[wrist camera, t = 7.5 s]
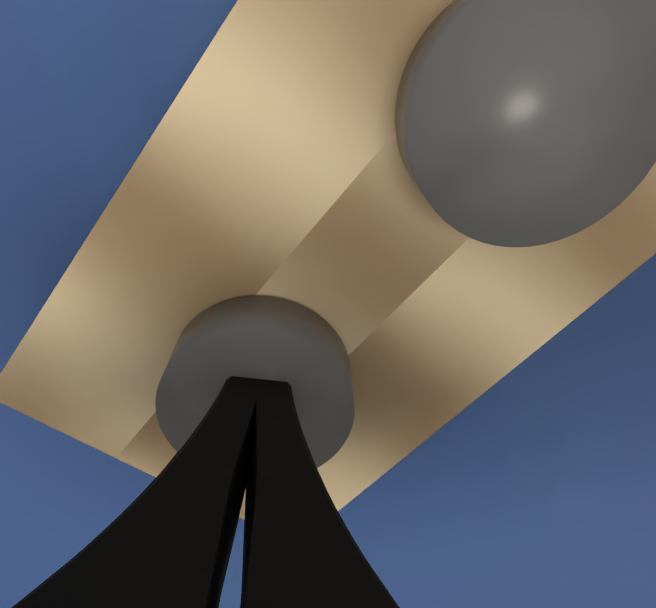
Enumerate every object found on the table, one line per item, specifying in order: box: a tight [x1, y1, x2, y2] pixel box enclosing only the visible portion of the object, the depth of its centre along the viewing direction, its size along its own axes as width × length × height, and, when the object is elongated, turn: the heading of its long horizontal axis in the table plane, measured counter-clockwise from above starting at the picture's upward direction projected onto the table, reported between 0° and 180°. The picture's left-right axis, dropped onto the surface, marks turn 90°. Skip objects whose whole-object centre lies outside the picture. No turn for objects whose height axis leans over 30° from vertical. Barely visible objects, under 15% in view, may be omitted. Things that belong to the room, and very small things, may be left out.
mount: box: [0, 0, 656, 520], centre depth 11 cm, size 26×10×4 cm, turn 140°
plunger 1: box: [155, 296, 355, 468], centre depth 13 cm, size 4×4×5 cm
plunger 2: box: [395, 0, 656, 247], centre depth 10 cm, size 4×4×5 cm
